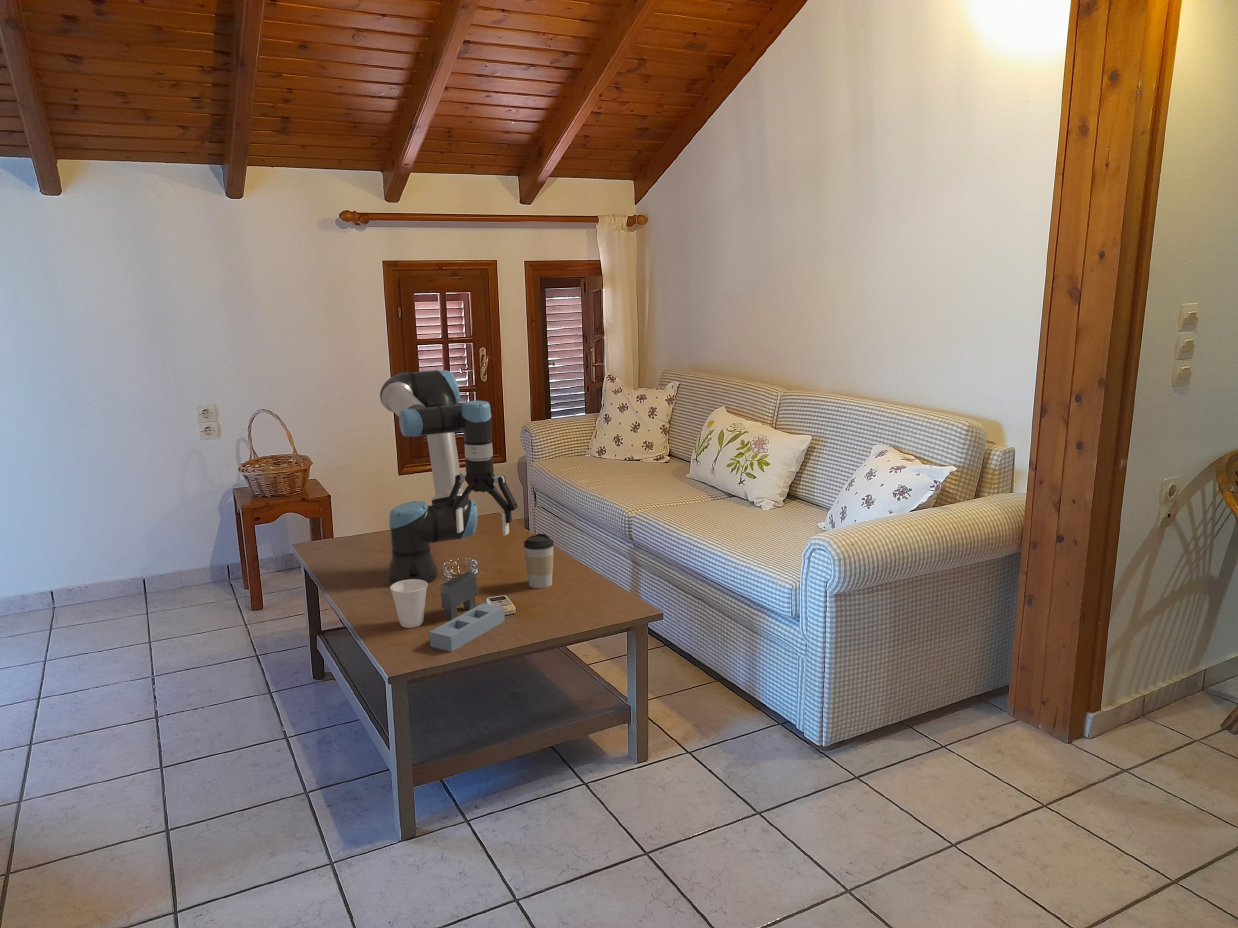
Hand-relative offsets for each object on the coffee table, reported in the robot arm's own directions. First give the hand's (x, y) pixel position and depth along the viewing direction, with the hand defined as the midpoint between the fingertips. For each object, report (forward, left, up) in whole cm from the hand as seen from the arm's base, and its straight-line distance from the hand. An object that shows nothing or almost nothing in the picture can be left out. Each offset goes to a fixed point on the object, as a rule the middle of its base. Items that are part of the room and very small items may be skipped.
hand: (483, 532), depth 246 cm
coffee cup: (+3, +22, -22) cm, 31 cm away
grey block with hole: (+7, -17, -22) cm, 29 cm away
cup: (-11, -19, -22) cm, 31 cm away
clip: (-4, -7, -22) cm, 23 cm away
